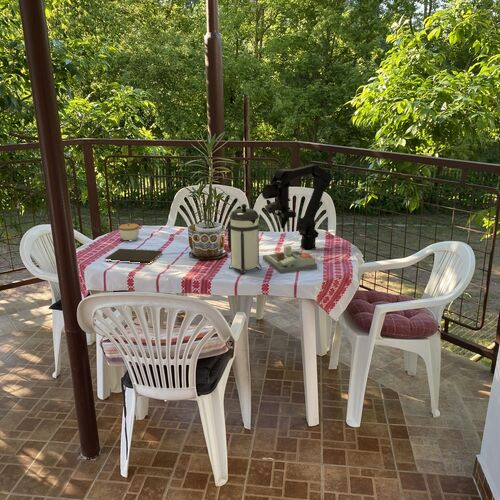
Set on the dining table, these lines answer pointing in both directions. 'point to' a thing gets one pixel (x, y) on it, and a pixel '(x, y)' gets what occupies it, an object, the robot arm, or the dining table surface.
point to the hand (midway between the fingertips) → (282, 228)
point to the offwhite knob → (287, 250)
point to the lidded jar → (129, 231)
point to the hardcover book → (135, 255)
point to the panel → (293, 266)
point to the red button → (305, 256)
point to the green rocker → (287, 260)
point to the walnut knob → (279, 256)
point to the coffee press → (244, 239)
